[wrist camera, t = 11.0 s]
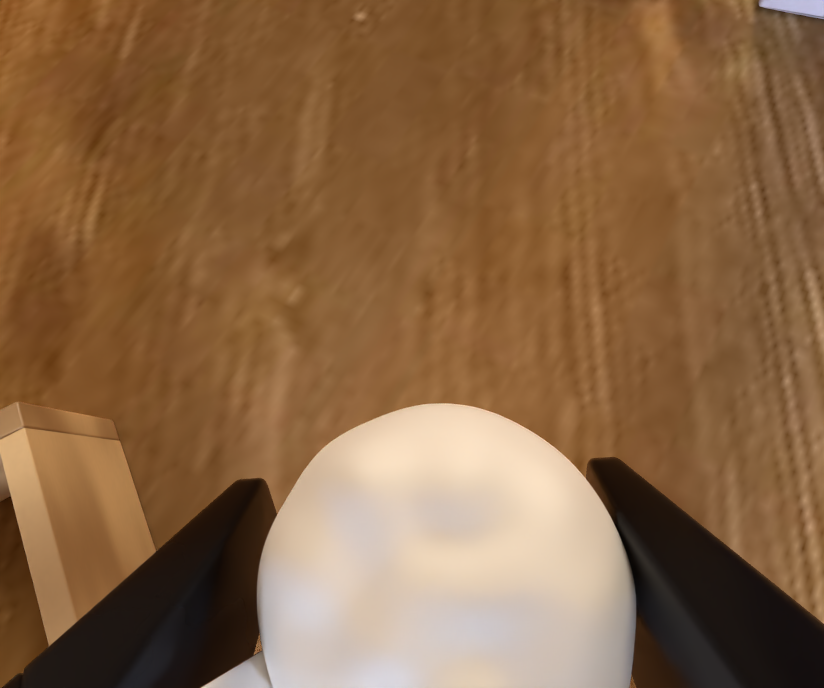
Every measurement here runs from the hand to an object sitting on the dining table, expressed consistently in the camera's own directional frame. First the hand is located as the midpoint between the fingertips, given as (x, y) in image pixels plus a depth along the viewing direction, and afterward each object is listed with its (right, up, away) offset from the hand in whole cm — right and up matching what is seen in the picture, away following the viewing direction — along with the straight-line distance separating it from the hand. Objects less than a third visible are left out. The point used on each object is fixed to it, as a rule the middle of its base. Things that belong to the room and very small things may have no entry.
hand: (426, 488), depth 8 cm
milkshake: (+1, -3, +6) cm, 7 cm away
